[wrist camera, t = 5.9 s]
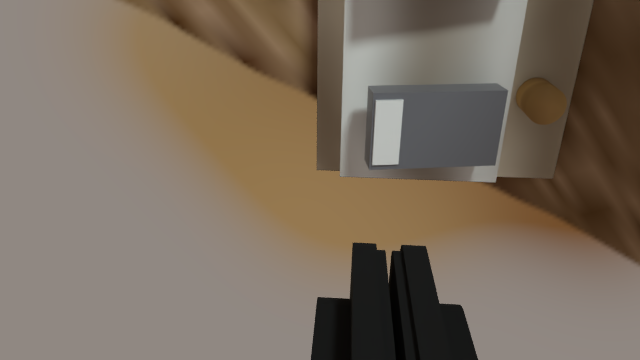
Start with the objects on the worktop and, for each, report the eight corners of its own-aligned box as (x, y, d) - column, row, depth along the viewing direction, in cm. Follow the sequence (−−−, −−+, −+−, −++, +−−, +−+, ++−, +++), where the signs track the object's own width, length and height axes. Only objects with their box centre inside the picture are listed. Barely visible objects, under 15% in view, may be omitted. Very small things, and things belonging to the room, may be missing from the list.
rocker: (491, 79, 24) (509, 91, 22) (480, 150, 26) (496, 166, 24) (365, 82, 23) (374, 94, 22) (362, 154, 25) (369, 171, 23)
